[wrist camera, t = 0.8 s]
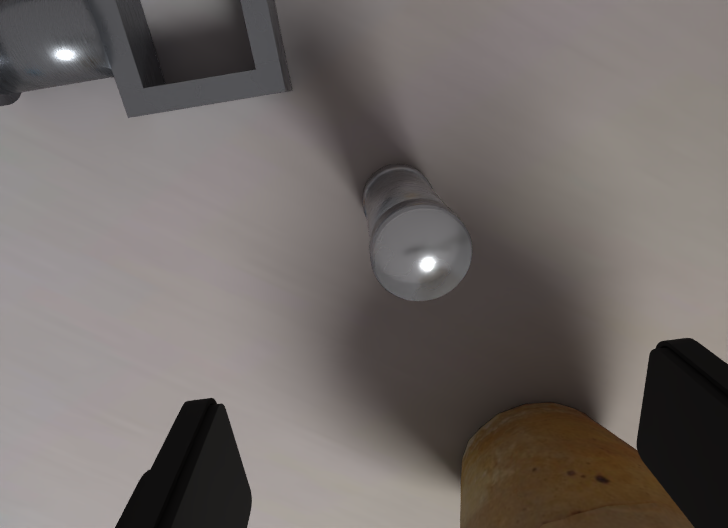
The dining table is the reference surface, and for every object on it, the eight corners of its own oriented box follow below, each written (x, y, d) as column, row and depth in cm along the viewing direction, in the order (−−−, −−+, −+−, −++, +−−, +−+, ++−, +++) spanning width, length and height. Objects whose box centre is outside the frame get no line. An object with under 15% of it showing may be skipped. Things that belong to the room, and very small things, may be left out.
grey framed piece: (257, -84, 22) (233, -128, 17) (292, 90, 25) (279, 92, 20) (-39, -31, 22) (-142, -61, 17) (31, 133, 25) (-40, 145, 20)
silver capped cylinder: (427, 158, 26) (470, 199, 17) (433, 224, 28) (476, 295, 19) (357, 169, 27) (363, 216, 17) (367, 235, 28) (378, 310, 19)
